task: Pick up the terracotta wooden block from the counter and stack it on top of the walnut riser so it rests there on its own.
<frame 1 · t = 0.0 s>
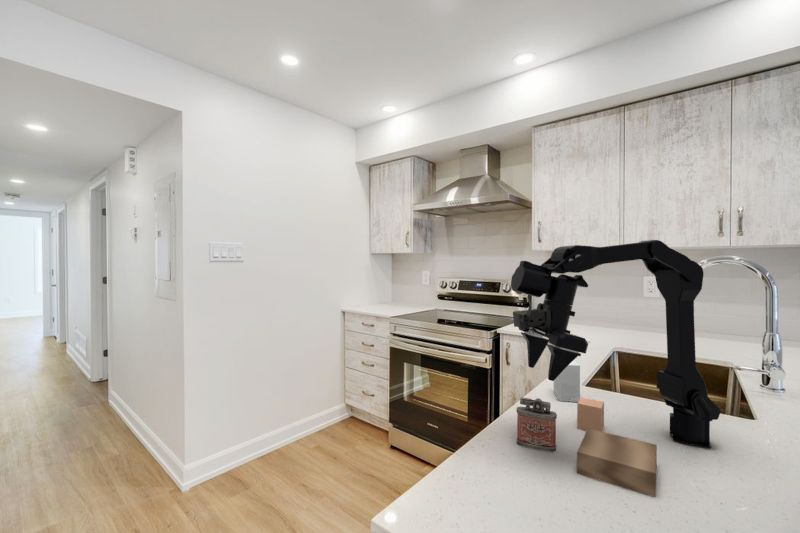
hand: (540, 373, 79), 15 cm above the counter, tool pointing down, fingers open, 9 cm apart
terracotta block: (590, 427, 88), on the counter
small box: (566, 397, 108), on the counter
walnut riser: (617, 469, 70), on the counter
lighter: (535, 446, 79), on the counter
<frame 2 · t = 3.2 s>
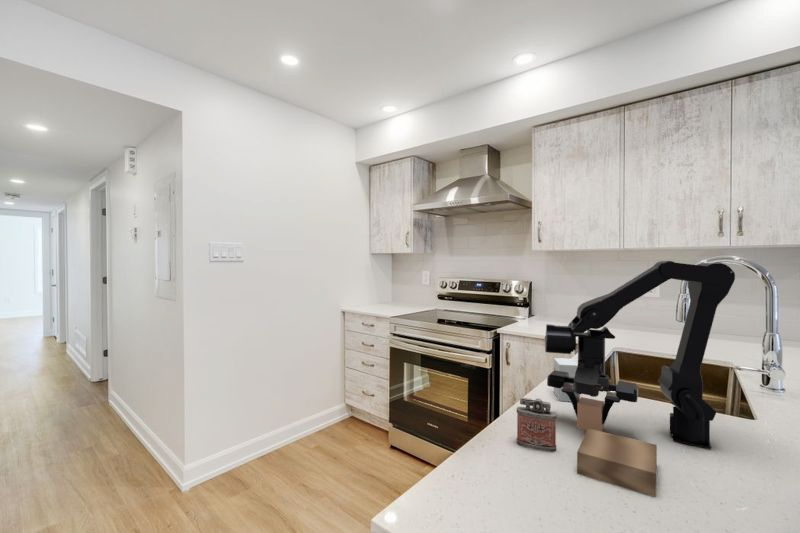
hand: (590, 420, 88), 2 cm above the counter, tool pointing down, fingers closed on terracotta block, 5 cm apart
terracotta block: (590, 427, 88), on the counter, touching gripper
everything else where it was.
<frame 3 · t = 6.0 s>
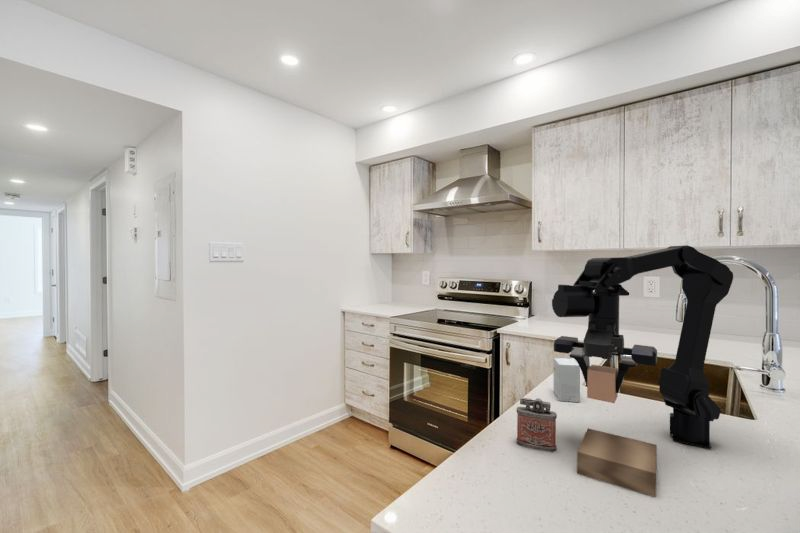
hand: (602, 389, 78), 12 cm above the counter, tool pointing down, fingers closed on terracotta block, 5 cm apart
terracotta block: (602, 397, 78), point 11 cm above the counter, touching gripper
everything else where it was.
when the fingers open (6 cm above the counter, at t = 8.5 s): terracotta block stays where it is, resting on walnut riser.
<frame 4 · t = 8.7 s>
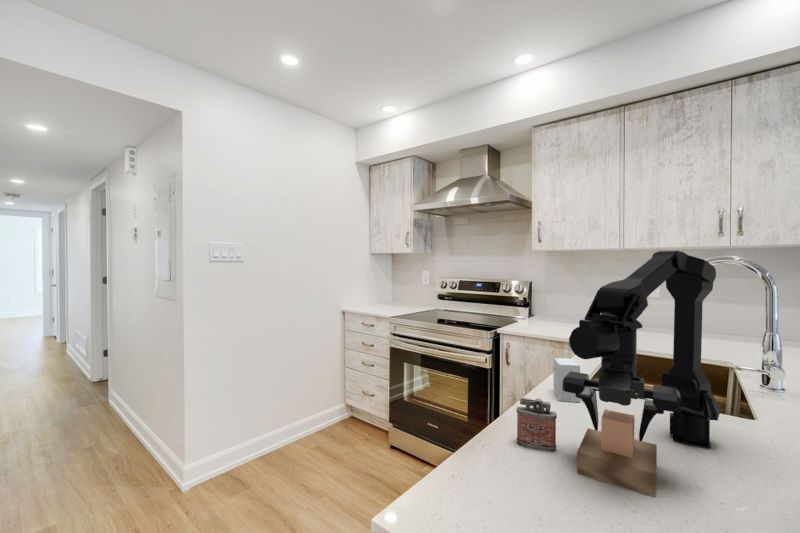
hand: (617, 435, 70), 6 cm above the counter, tool pointing down, fingers open, 7 cm apart
terracotta block: (617, 448, 70), point 4 cm above the counter, touching walnut riser
everything else where it was.
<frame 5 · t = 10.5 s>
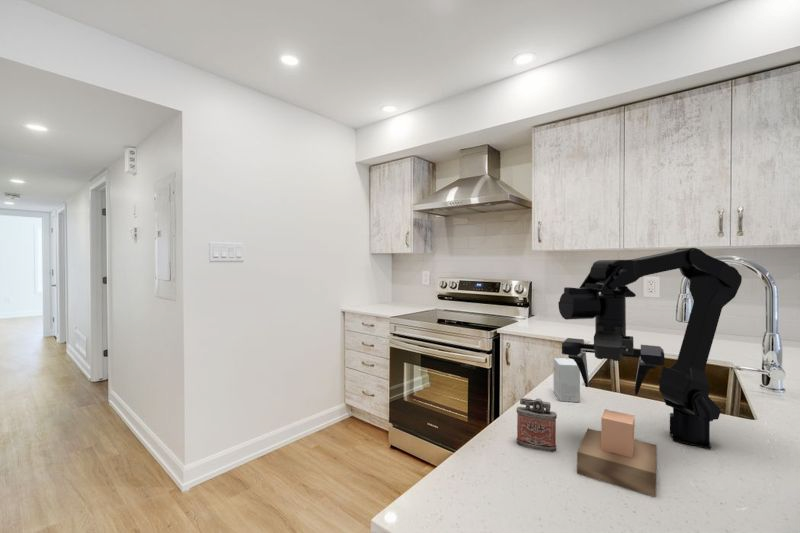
hand: (610, 390, 79), 12 cm above the counter, tool pointing down, fingers open, 9 cm apart
nothing on the counter moved.
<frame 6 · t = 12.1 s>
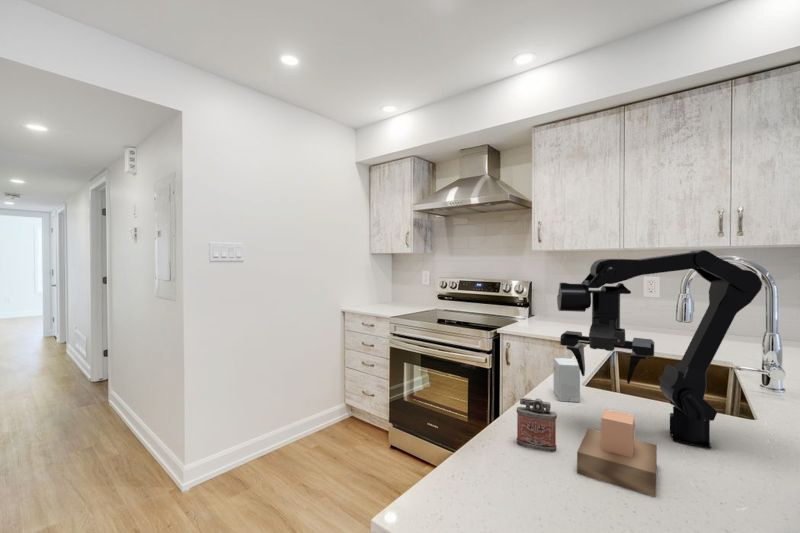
hand: (605, 379, 86), 12 cm above the counter, tool pointing down, fingers open, 9 cm apart
nothing on the counter moved.
at the end: terracotta block inside the target area on the walnut riser (0.0 cm from its centre), point 4.0 cm above the walnut riser's base; terracotta block tilted 0°; the gripper is holding nothing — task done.
